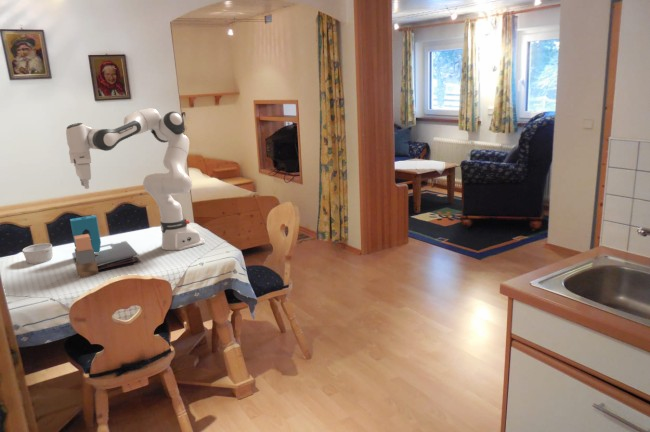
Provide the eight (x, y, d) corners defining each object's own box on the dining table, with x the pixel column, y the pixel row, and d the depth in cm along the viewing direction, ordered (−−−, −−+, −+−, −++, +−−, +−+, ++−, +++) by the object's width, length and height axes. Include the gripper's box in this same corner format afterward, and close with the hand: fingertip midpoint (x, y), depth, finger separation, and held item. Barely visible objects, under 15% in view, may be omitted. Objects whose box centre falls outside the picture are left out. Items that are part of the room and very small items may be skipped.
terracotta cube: (90, 246, 238) (88, 233, 237) (92, 249, 233) (89, 236, 232) (76, 248, 235) (74, 236, 234) (77, 251, 230) (75, 239, 229)
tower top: (93, 257, 240) (91, 245, 239) (95, 261, 235) (93, 249, 233) (76, 261, 237) (74, 248, 235) (79, 265, 231) (76, 252, 229)
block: (77, 259, 257) (70, 221, 252) (76, 256, 262) (69, 219, 256) (103, 254, 263) (96, 217, 258) (101, 252, 267) (95, 215, 262)
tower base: (95, 269, 243) (93, 257, 241) (98, 273, 236) (96, 261, 235) (77, 273, 239) (75, 260, 237) (79, 278, 232) (77, 265, 230)
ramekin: (30, 266, 250) (27, 253, 248) (21, 261, 259) (18, 248, 257) (58, 259, 259) (56, 246, 258) (48, 254, 268) (46, 241, 266)
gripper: (70, 157, 249) (74, 184, 253) (76, 161, 232) (81, 191, 236) (84, 155, 252) (88, 183, 256) (91, 159, 236) (96, 189, 239)
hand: (85, 187), depth 246 cm, fingers open, 8 cm apart
